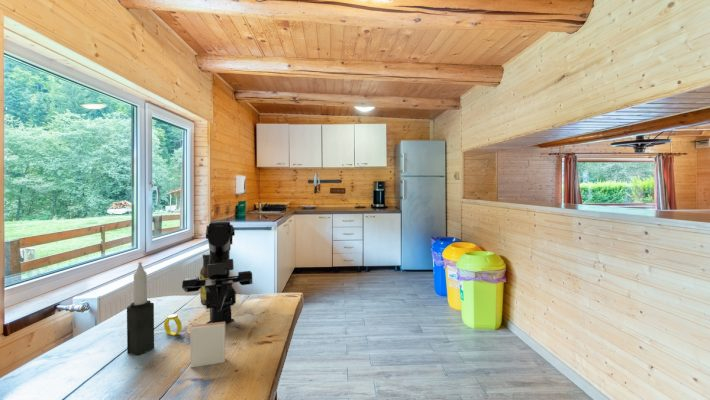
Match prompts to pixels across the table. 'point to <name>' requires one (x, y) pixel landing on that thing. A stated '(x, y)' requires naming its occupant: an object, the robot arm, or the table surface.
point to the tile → (207, 344)
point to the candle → (140, 317)
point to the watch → (178, 322)
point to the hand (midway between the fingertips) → (219, 311)
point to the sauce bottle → (204, 277)
